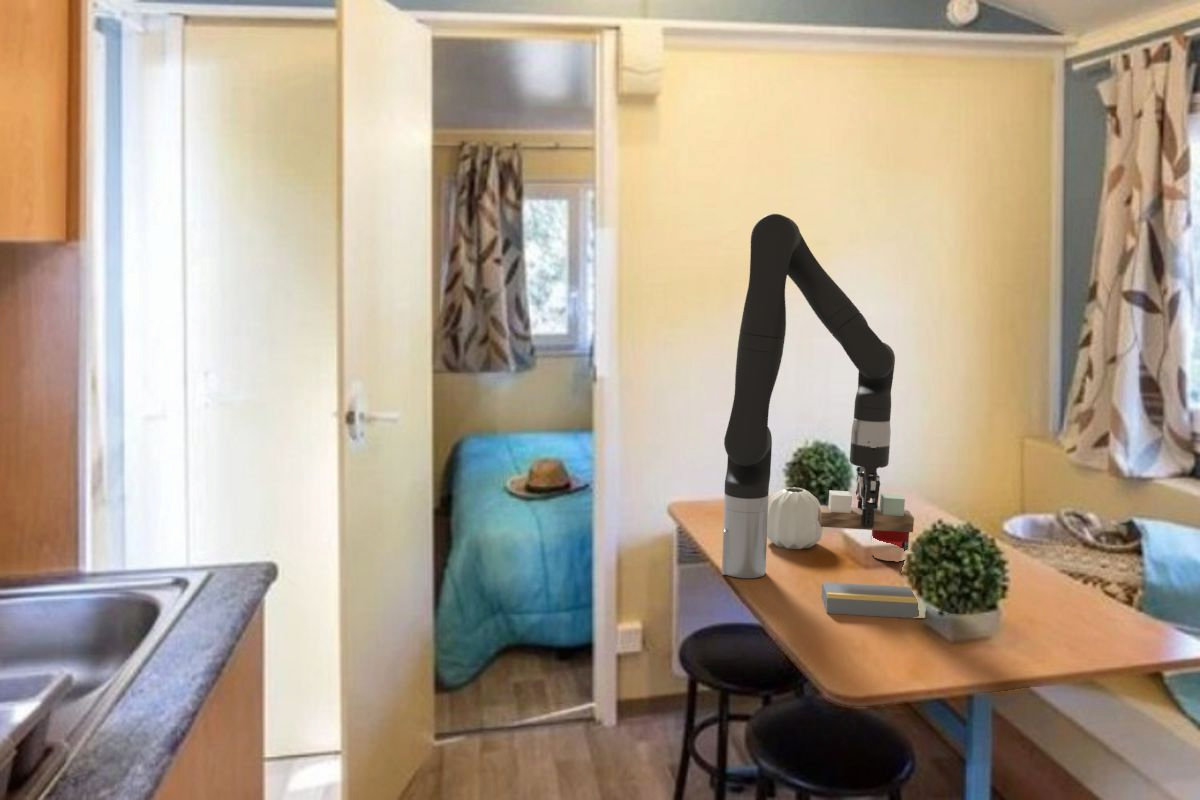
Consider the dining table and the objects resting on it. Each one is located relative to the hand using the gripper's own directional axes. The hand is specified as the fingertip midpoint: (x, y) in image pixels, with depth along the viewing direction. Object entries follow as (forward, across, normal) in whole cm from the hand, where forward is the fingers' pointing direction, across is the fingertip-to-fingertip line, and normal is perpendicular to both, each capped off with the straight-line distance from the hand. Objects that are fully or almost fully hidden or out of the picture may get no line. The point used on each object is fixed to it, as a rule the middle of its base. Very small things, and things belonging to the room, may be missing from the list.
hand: (864, 522), depth 182 cm
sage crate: (-2, 0, +5) cm, 6 cm away
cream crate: (-2, 0, -5) cm, 6 cm away
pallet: (+1, 0, 0) cm, 1 cm away
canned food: (+14, -21, +9) cm, 27 cm away
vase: (+14, -27, -12) cm, 32 cm away
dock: (+13, +12, 0) cm, 18 cm away
